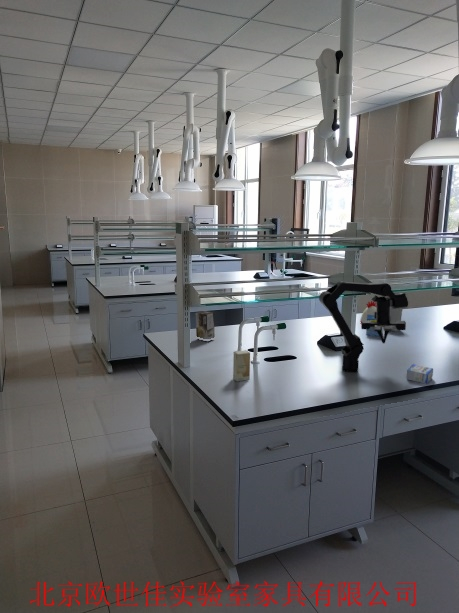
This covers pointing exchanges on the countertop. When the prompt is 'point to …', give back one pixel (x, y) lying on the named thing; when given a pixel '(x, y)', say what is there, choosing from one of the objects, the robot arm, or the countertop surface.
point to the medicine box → (419, 373)
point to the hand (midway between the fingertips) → (383, 343)
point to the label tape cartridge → (372, 329)
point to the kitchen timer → (369, 311)
